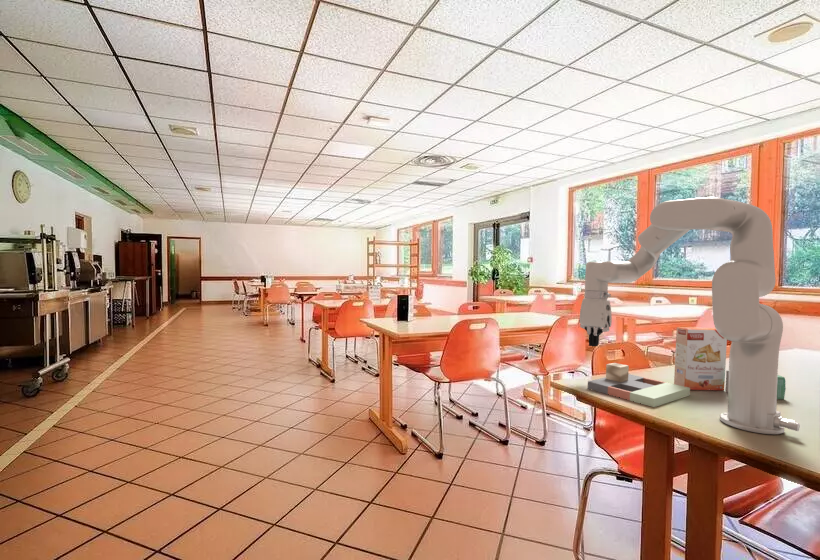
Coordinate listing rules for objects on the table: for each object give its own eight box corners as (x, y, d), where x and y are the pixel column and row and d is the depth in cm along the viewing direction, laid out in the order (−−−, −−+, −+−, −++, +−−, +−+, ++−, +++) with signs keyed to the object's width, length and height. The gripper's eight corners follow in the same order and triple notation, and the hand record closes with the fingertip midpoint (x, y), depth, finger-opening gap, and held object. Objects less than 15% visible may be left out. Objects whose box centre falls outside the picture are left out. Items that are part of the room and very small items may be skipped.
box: (786, 399, 125) (786, 376, 125) (742, 398, 125) (742, 375, 125) (765, 393, 132) (766, 370, 132) (724, 392, 133) (725, 369, 132)
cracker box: (685, 390, 132) (687, 328, 132) (673, 385, 138) (675, 326, 138) (726, 391, 133) (728, 329, 133) (711, 386, 139) (713, 327, 139)
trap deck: (689, 395, 127) (690, 387, 127) (653, 407, 115) (654, 398, 114) (624, 379, 145) (624, 373, 145) (587, 388, 132) (587, 381, 132)
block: (628, 380, 135) (628, 365, 135) (620, 382, 132) (620, 367, 132) (613, 376, 139) (614, 362, 139) (605, 378, 136) (606, 364, 136)
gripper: (622, 297, 138) (619, 349, 139) (583, 294, 151) (581, 341, 151) (610, 297, 134) (607, 350, 135) (571, 294, 146) (568, 343, 147)
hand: (593, 345), depth 143 cm, fingers closed
